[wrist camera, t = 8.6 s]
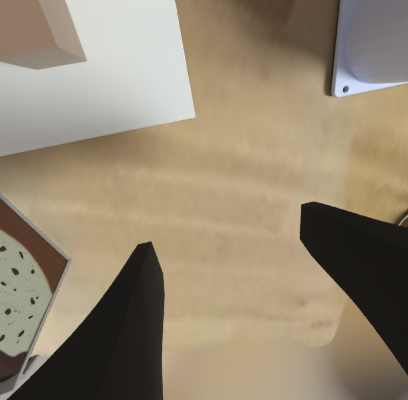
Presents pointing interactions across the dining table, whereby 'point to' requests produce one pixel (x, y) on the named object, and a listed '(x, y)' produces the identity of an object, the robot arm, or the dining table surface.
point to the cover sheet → (88, 70)
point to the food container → (24, 290)
